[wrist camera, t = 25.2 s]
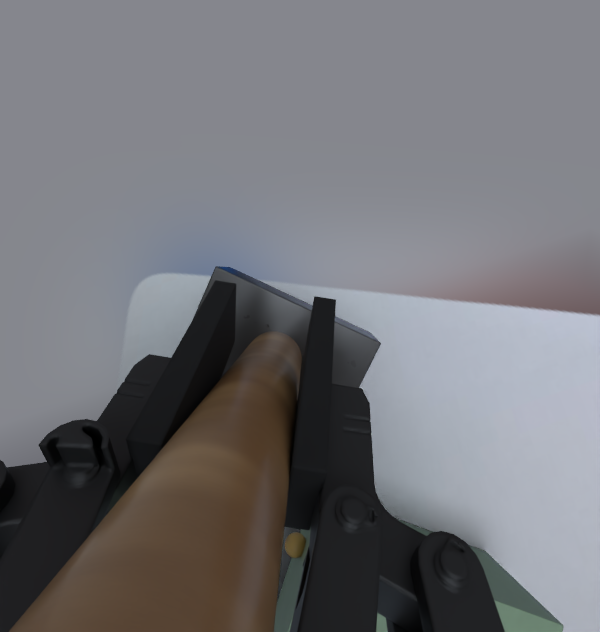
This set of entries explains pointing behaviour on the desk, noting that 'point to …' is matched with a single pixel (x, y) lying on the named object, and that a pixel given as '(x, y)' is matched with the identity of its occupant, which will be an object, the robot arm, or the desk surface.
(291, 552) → the cabinet
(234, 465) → the brush
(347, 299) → the desk surface
